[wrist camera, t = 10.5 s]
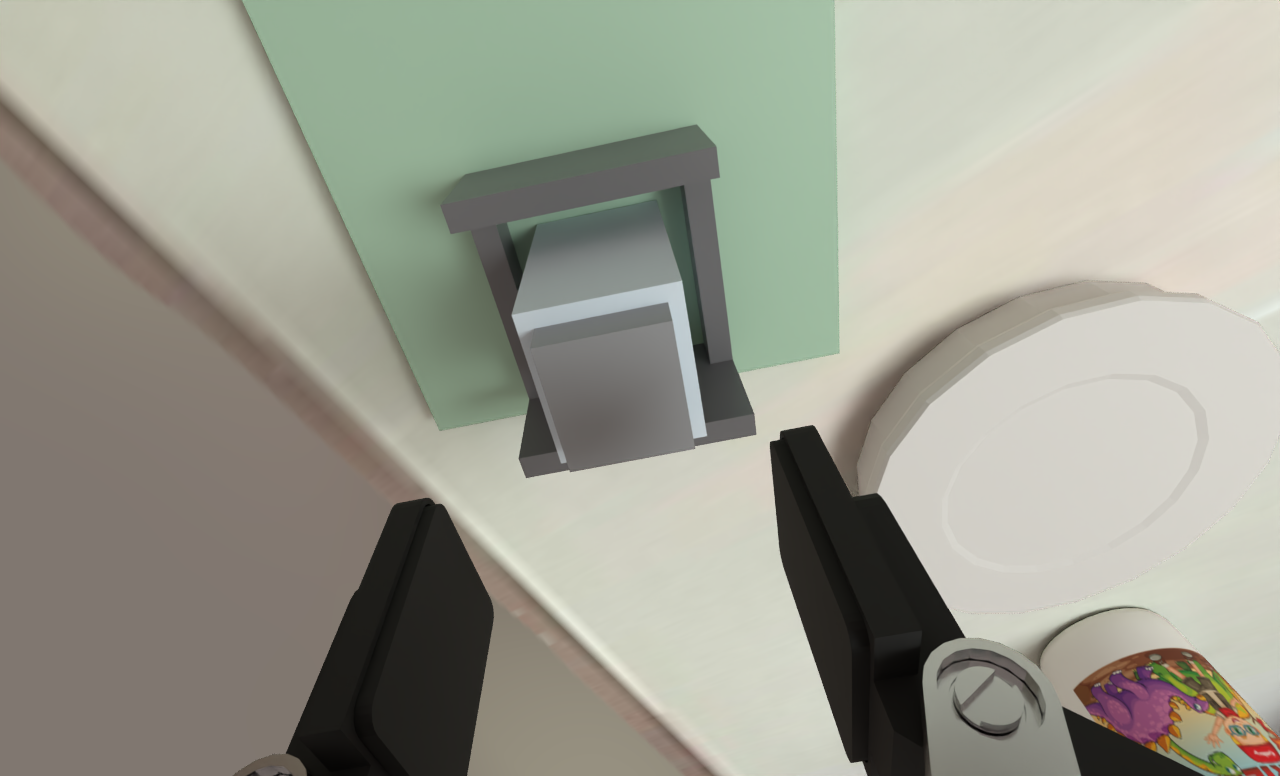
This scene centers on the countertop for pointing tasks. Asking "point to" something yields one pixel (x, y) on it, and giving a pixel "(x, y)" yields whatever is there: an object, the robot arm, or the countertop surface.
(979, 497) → the lid
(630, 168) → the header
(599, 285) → the plug
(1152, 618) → the milk bottle
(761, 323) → the board
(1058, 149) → the countertop surface
